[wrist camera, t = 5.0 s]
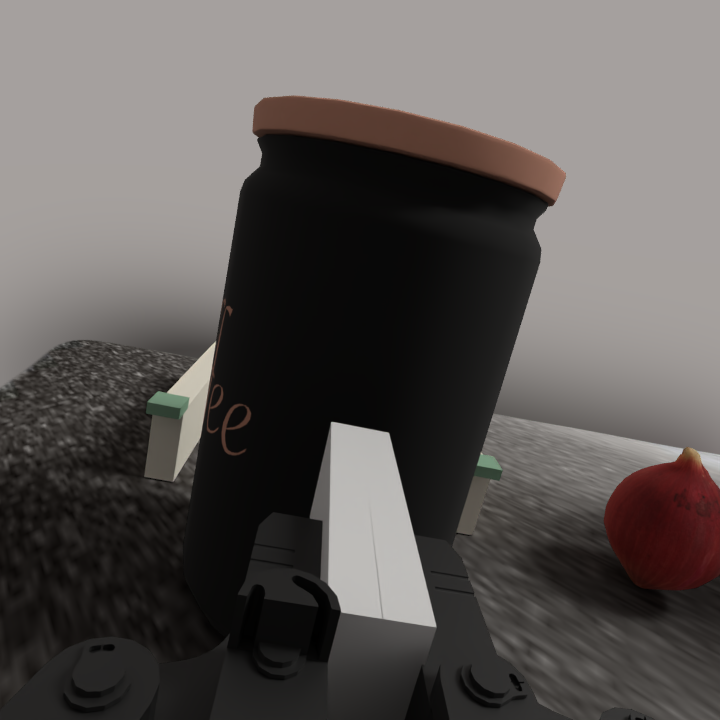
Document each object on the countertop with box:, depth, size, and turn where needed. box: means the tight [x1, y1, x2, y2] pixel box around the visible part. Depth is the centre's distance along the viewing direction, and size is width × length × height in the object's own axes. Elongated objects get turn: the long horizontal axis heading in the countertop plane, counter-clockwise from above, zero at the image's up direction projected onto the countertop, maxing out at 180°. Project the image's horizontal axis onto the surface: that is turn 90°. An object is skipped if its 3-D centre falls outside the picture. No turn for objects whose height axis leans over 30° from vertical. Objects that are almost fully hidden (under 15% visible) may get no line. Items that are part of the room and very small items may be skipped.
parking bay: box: [144, 342, 503, 535], centre depth 35 cm, size 18×16×5 cm
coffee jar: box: [183, 96, 566, 638], centre depth 20 cm, size 11×11×18 cm
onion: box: [604, 447, 720, 590], centre depth 27 cm, size 6×6×8 cm
